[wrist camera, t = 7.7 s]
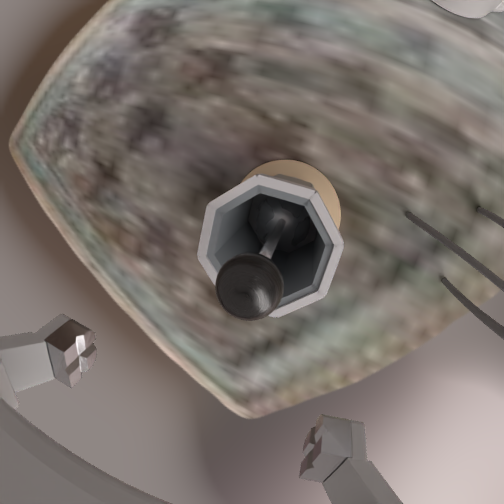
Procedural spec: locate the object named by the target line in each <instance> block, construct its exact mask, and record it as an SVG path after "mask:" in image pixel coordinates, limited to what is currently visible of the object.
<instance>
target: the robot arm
mask: <svg viewBox="0 0 504 504" xmlns="http://www.w3.org/2000/svg"><path fill="white" fill-rule="evenodd" d="M432 1H433V2H435V3H436V4H438V5H439V6H441V7H442V8H444V9H446V10H448V11H450V12H452V13H454V14H457V15H460V16H463V17H468V18H480V17H483V16H485V15H487V14H488V13H490V12H503V11H504V0H432ZM95 340H96V338H95V332H93V331H92V330H90V329H89V328H87V327H85V326H84V325H82V324H80V323H78V322H77V321H75V320H73V319H71V318H69V317H68V316H66V315H64V314H60V315H58V316H57V317H56V318H54V319H53V320H51V321H50V322H49V323H47V324H46V325H45V326H43V327H42V328H41V329H39V330H38V331H37V332H36V333H32V332H28V333H22V334H16V335H9V336H3V337H0V504H171V503H169V502H166V501H164V500H162V499H159V498H157V497H154V496H152V495H150V494H148V493H145V492H143V491H141V490H139V489H137V488H135V487H133V486H131V485H128V484H126V483H124V482H123V481H120V480H119V479H117V478H115V477H113V476H111V475H109V474H107V473H106V472H104V471H102V470H100V469H98V468H97V467H95V466H93V465H91V464H90V463H88V462H86V461H85V460H83V459H82V458H80V457H79V456H77V455H75V454H74V453H72V452H71V451H69V450H68V449H66V448H65V447H63V446H62V445H60V444H59V443H57V442H56V441H55V440H53V439H52V438H50V437H49V436H47V435H46V434H45V433H44V432H42V431H41V430H40V429H38V428H37V427H36V426H34V425H33V424H32V423H31V422H29V421H28V420H27V419H26V418H24V417H23V416H22V415H21V414H20V413H18V412H17V411H16V410H15V409H16V408H17V407H18V406H19V401H18V398H17V396H16V394H15V392H18V391H21V390H24V389H27V388H30V387H33V386H36V385H39V384H42V383H45V382H48V381H50V380H53V379H54V378H56V379H57V380H59V381H61V382H62V383H64V384H65V385H67V386H69V387H70V388H73V386H74V385H75V384H76V383H77V382H78V381H79V380H80V379H81V378H82V372H85V371H89V370H90V369H91V367H92V366H93V365H94V363H95V361H96V357H97V349H96V347H95V345H94V343H93V342H94V341H95ZM366 451H367V450H366V434H365V424H364V423H363V422H359V421H353V420H348V419H343V418H338V417H333V416H328V415H323V414H321V415H320V416H319V417H318V418H317V420H316V426H315V427H313V428H311V429H310V431H309V432H308V434H307V436H306V439H305V442H304V446H303V454H304V455H305V458H304V460H303V461H302V462H301V467H300V475H299V478H301V479H306V480H310V481H316V482H321V483H322V484H323V486H324V488H325V491H326V493H327V495H328V497H329V499H330V501H331V503H332V504H403V503H402V502H401V500H400V499H399V498H398V496H397V495H396V494H395V492H394V491H393V490H392V488H391V487H390V486H389V484H388V483H387V482H386V480H385V479H384V478H383V476H382V475H381V474H380V473H379V471H378V470H377V468H376V467H375V466H374V464H373V463H372V462H371V461H368V460H367V452H366Z"/></svg>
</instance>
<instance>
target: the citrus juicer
mask: <svg viewBox="0 0 504 504" xmlns="http://www.w3.org/2000/svg"><path fill="white" fill-rule="evenodd" d="M477 212H478V213H480V214H482V215H484V216H486V217H488V218H489V219H491V220H493V221H494V222H496V223H497V224H499V225H500V226H502V227H503V228H504V219H502V218H501V217H499V216H497V215H496V214H494V213H492V212H490V211H488V210H486V209H484V208H481V207H478V208H477ZM406 217H407V218H408V219H409V220H411V221H412V222H413V223H415V224H416V225H418V226H419V227H420V228H422V229H423V230H424V231H426V232H427V233H429V234H430V235H431V236H433V237H434V238H436V239H437V240H438V241H440V242H441V243H442V244H444V245H445V246H447V247H448V248H449V249H451V250H452V251H453V252H455V253H456V254H457V255H459V256H460V257H461V258H462V259H464V260H465V261H466V262H468V263H469V264H470V265H471V266H473V267H474V268H475V269H476V270H478V271H479V272H480V273H482V274H483V275H484V276H485V277H486V278H488V279H489V280H490V281H491V282H493V283H494V284H495V285H496V286H497V287H499V288H500V289H501V290H502V291H504V281H503V280H502V279H500V278H499V277H498V276H497V275H495V274H494V273H493V272H492V271H490V270H489V269H488V268H486V267H485V266H484V265H483V264H481V263H480V262H479V261H477V260H476V259H475V258H474V257H472V256H471V255H470V254H468V253H467V252H466V251H464V250H463V249H462V248H460V247H459V246H458V245H456V244H455V243H453V242H452V241H451V240H449V239H448V238H447V237H445V236H444V235H442V234H441V233H440V232H438V231H437V230H435V229H434V228H432V227H431V226H429V225H428V224H427V223H425V222H424V221H422V220H421V219H419V218H418V217H416V216H415V215H413V214H412V213H411V212H408V213H407V214H406ZM442 283H443V284H444V285H445V286H446V287H447V289H448V290H449V291H450V292H451V293H452V294H453V295H454V296H455V297H456V298H457V299H458V300H459V301H460V302H461V303H462V304H463V305H464V306H465V307H466V308H468V309H469V310H470V311H471V312H472V313H473V314H474V315H475V316H476V317H477V318H479V319H480V320H481V321H482V322H483V323H484V324H485V325H487V326H488V327H489V328H490V329H491V330H493V331H494V332H495V333H496V334H497V335H499V336H500V337H501V338H503V339H504V327H503V326H502V325H500V324H499V323H497V322H496V321H495V320H493V319H492V318H491V317H489V316H488V315H487V314H485V313H484V312H483V311H481V310H480V309H479V308H478V307H477V306H475V305H474V304H473V303H472V302H471V301H470V300H468V299H467V298H466V297H465V296H464V295H463V294H462V293H461V292H459V291H458V290H457V289H456V288H455V287H454V286H453V285H452V284H451V283H450V282H449V281H448V280H447V279H446V278H443V279H442Z"/></svg>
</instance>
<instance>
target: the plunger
mask: <svg viewBox="0 0 504 504" xmlns="http://www.w3.org/2000/svg"><path fill="white" fill-rule="evenodd" d="M310 223H311V220H310V215H309V213H308V212H307V210H306V208H305V206H303V205H300V204H296V203H293V202H290V201H286V200H283V199H279V198H276V197H272V196H269V197H267V198H266V199H265V200H263V201H262V202H261V203H260V204H259V206H258V207H257V209H256V211H255V214H254V228H255V231H256V234H257V236H258V237H259V239H260V240H261V241H262V242H263V243H264V246H263V248H262V249H261V251H260V253H254V252H245V253H240V254H237V255H235V256H233V257H231V258H230V259H228V260H227V261H226V262H225V263H224V264H223V265H222V267H221V268H220V270H219V272H218V274H217V278H216V283H215V290H216V295H217V298H218V301H219V303H220V305H221V306H222V307H223V309H224V310H225V311H226V312H227V313H229V314H230V315H232V316H233V317H235V318H238V319H241V320H246V321H254V320H259V319H262V318H264V317H266V316H268V315H269V314H271V313H272V312H273V311H274V310H275V309H276V308H277V307H278V305H279V304H280V302H281V299H282V297H283V293H284V280H283V276H282V273H281V271H280V269H279V268H278V266H277V265H276V264H275V263H274V262H273V261H272V260H271V257H272V255H273V253H274V250H275V249H277V250H288V249H292V248H295V247H297V246H298V245H300V244H301V243H302V242H303V241H304V240H305V238H306V237H307V235H308V233H309V230H310Z"/></svg>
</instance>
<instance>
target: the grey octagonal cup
mask: <svg viewBox="0 0 504 504" xmlns="http://www.w3.org/2000/svg"><path fill="white" fill-rule="evenodd" d="M269 196H272V197H276V198H279V199H283V200H286V201H290V202H293V203H296V204H300V205H303V206H305V208H306V210H307V212H308V213H309V215H310V220H311V223H310V230H309V233H308V235H307V237H306V238H305V240H304V241H303V242H302V243H301V244H300V245H298V246H297V247H295V248H292V249H288V250H277V249H275V250H274V253H273V255H272V257H271V260H272V261H273V262H274V263H275V264H276V265H277V266H278V268H279V269H280V271H281V273H282V276H283V280H284V293H283V297H282V299H281V302H280V304H279V305H278V307H277V308H276V309H275V310H274V311H273V312H272V313H271V314H269V315H268V316H271V317H274V318H276V316H277V318H278V317H281V316H283V315H285V314H288V313H290V312H292V311H295V310H297V309H299V308H302V307H304V306H306V305H308V304H311V303H313V302H315V301H317V300H320V299H322V298H324V295H325V296H326V294H327V292H328V289H329V287H330V284H331V281H332V279H333V276H334V273H335V271H336V268H337V265H338V262H339V260H340V257H341V254H342V251H343V248H344V241H343V238H342V236H341V234H340V232H339V226H340V219H341V209H340V203H339V200H338V196H337V194H336V192H335V190H334V188H333V186H332V185H331V183H330V182H329V180H328V179H327V178H326V177H325V176H324V175H323V174H322V173H321V172H320V171H318V170H317V169H315V168H314V167H312V166H310V165H308V164H306V163H303V162H300V161H295V160H276V161H271V162H268V163H265V164H263V165H261V166H259V167H257V168H255V169H254V170H252V171H251V172H250V173H249V174H248V175H247V176H246V177H245V178H244V179H243V180H242V182H241V183H240V184H239V185H237V186H236V187H234V188H232V189H231V190H229V191H227V192H226V193H224V194H223V195H221V196H219V197H218V198H216V199H214V200H213V201H211V202H210V203H208V205H207V207H206V212H205V217H204V222H203V227H202V232H201V237H200V242H199V247H198V253H197V256H199V257H198V260H199V261H200V263H201V264H202V266H203V268H204V269H205V271H206V272H207V274H208V276H209V277H210V279H211V280H212V282H213V283H214V285H215V283H216V278H217V274H218V272H219V270H220V268H221V267H222V265H223V264H224V263H225V262H226V261H227V260H228V259H230V258H231V257H233V256H235V255H237V254H240V253H245V252H254V253H260V251H261V249H262V248H263V246H264V243H263V242H262V241H261V240H260V239H259V237H258V236H257V234H256V231H255V228H254V214H255V211H256V209H257V207H258V206H259V204H260V203H261V202H262V201H263V200H265V199H266V198H267V197H269Z"/></svg>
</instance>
